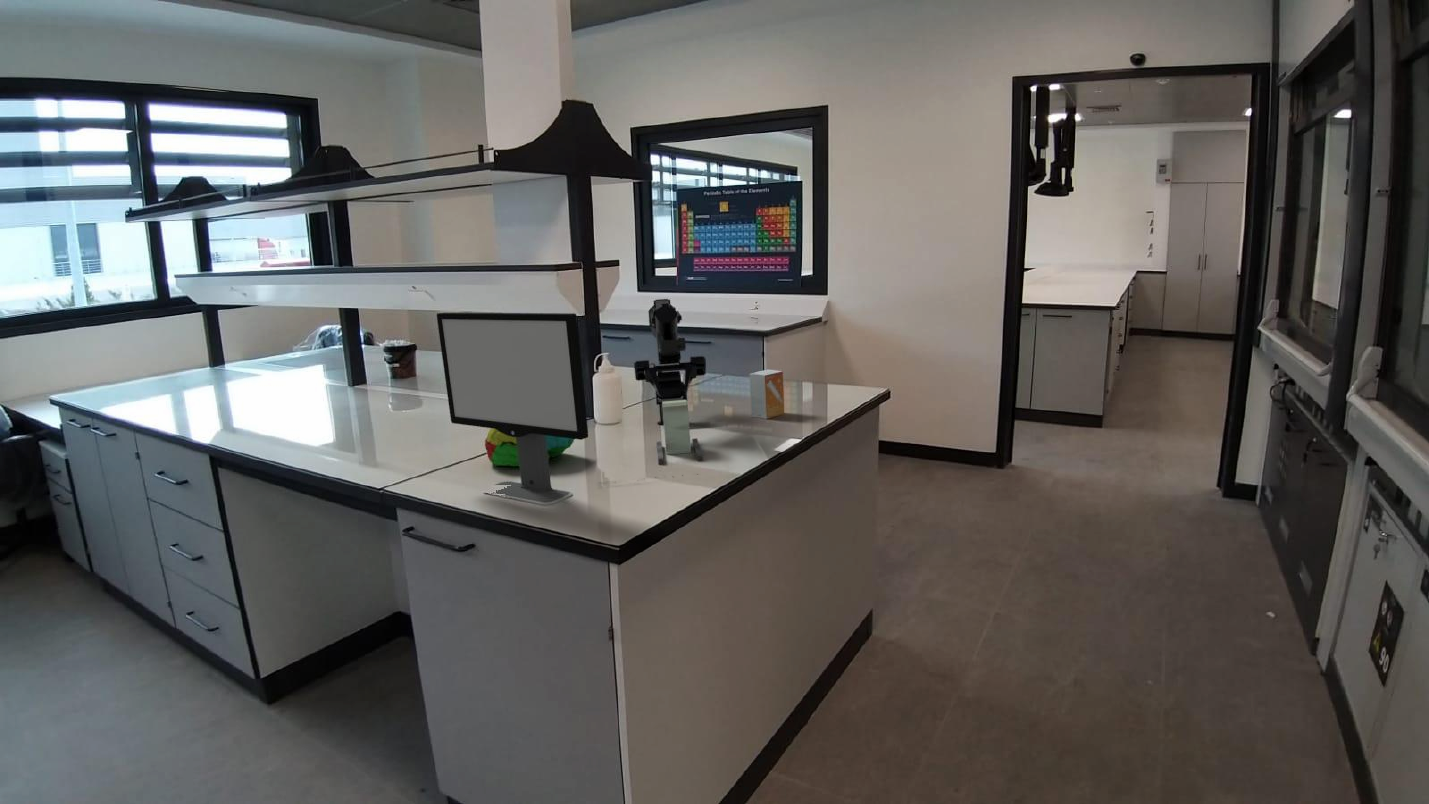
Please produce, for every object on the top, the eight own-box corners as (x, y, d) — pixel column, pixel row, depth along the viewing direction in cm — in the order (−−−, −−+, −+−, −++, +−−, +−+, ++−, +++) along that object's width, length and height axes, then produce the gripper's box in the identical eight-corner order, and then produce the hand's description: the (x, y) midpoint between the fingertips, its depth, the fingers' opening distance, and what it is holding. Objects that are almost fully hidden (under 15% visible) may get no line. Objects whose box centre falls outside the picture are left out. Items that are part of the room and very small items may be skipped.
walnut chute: (654, 452, 199) (653, 442, 199) (700, 448, 200) (700, 438, 200) (655, 470, 184) (654, 459, 183) (706, 466, 185) (705, 455, 184)
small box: (766, 419, 226) (764, 375, 223) (750, 416, 231) (748, 373, 228) (785, 413, 232) (783, 370, 229) (769, 411, 236) (767, 368, 233)
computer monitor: (451, 487, 181) (427, 314, 172) (480, 476, 188) (458, 310, 179) (582, 513, 158) (561, 315, 150) (609, 500, 165) (591, 310, 157)
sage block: (665, 448, 197) (662, 401, 195) (689, 446, 198) (686, 399, 195) (666, 454, 192) (662, 406, 189) (691, 452, 192) (687, 404, 189)
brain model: (592, 449, 204) (584, 393, 201) (557, 472, 186) (548, 411, 183) (514, 452, 211) (505, 398, 208) (473, 473, 194) (462, 415, 191)
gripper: (631, 330, 203) (635, 379, 194) (702, 325, 204) (709, 373, 196) (633, 355, 212) (637, 404, 204) (702, 350, 214) (708, 398, 205)
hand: (673, 394), depth 202 cm, fingers open, 6 cm apart
